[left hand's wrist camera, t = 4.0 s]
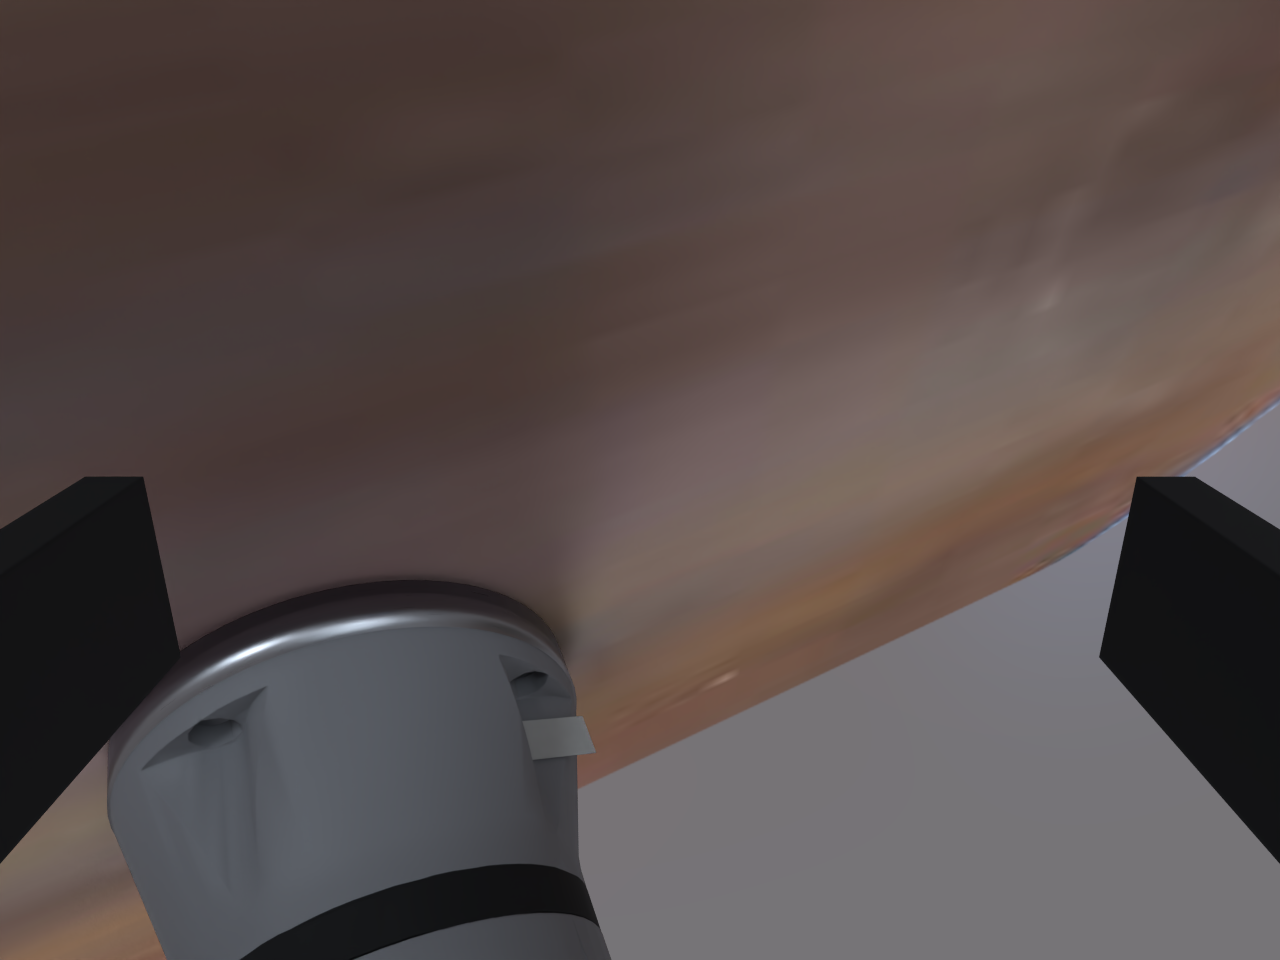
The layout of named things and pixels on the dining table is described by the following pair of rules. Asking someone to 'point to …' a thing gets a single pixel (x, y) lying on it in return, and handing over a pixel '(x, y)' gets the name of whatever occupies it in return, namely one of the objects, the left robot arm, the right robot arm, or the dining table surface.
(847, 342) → the dining table surface
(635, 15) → the dining table surface
